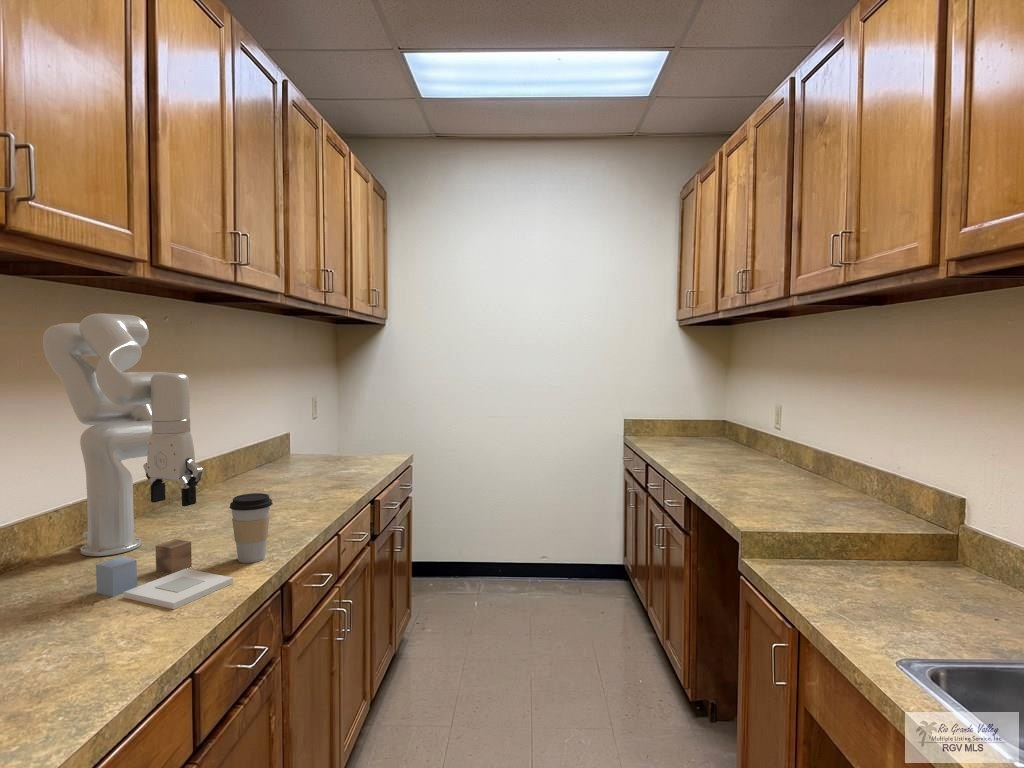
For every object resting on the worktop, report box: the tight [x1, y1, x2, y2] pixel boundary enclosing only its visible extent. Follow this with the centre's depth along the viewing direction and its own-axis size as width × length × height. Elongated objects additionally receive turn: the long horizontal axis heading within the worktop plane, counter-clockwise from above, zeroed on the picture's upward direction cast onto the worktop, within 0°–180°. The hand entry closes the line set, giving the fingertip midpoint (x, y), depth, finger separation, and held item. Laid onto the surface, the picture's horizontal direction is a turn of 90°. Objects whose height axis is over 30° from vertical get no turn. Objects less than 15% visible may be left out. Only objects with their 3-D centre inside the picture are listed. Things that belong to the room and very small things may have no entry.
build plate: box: [123, 568, 234, 610], centre depth 121 cm, size 14×14×1 cm
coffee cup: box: [229, 492, 273, 564], centre depth 140 cm, size 9×9×15 cm
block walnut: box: [155, 538, 193, 575], centre depth 133 cm, size 5×5×6 cm
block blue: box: [95, 556, 138, 598], centre depth 121 cm, size 5×5×6 cm
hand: (173, 503), depth 132 cm, fingers open, 9 cm apart
